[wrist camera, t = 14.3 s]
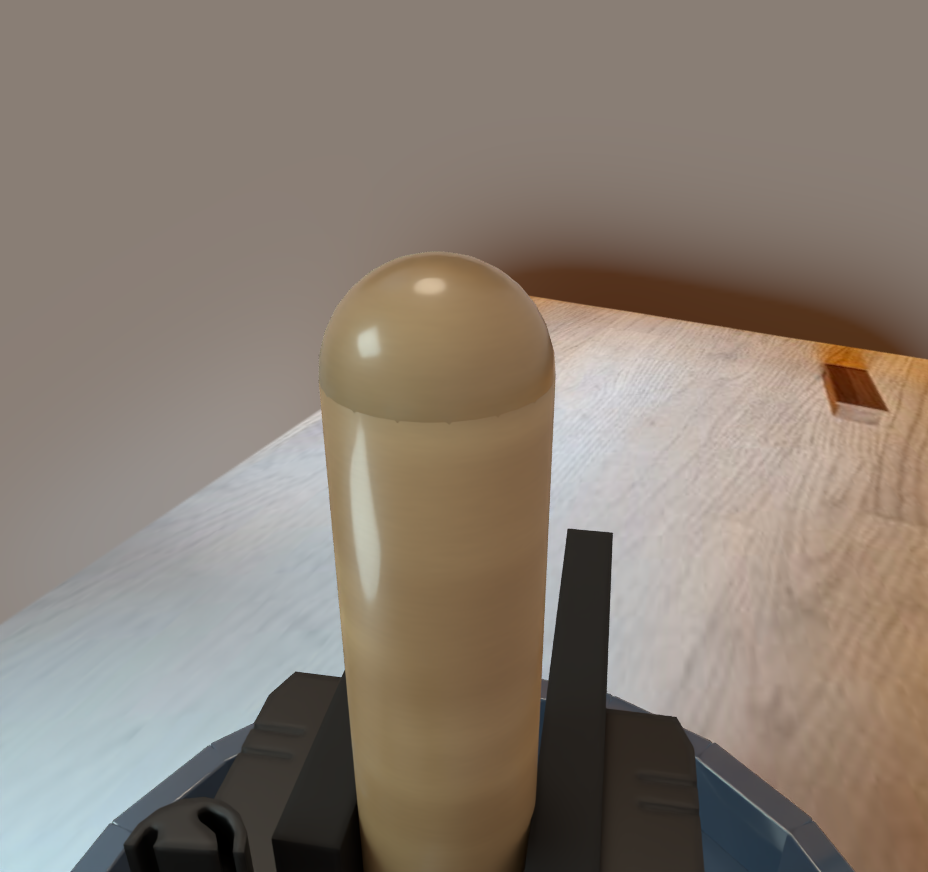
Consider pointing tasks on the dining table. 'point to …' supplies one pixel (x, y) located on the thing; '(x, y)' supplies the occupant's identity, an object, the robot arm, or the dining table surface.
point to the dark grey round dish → (718, 773)
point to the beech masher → (440, 555)
